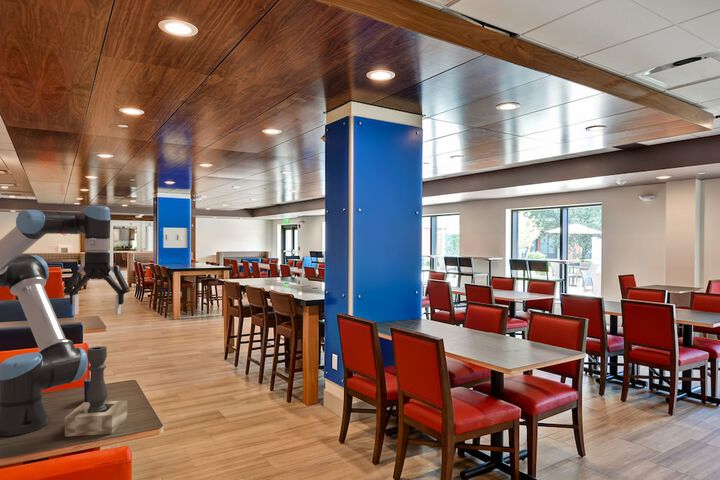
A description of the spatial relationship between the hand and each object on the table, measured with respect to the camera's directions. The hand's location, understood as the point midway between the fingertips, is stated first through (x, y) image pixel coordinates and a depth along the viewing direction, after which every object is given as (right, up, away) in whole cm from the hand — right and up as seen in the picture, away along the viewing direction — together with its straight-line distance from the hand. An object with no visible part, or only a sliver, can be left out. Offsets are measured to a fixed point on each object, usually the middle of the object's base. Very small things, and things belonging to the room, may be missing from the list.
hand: (96, 314), depth 158 cm
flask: (-14, -37, +22) cm, 46 cm away
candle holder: (+2, -36, -3) cm, 36 cm away
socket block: (+2, -37, -3) cm, 37 cm away
